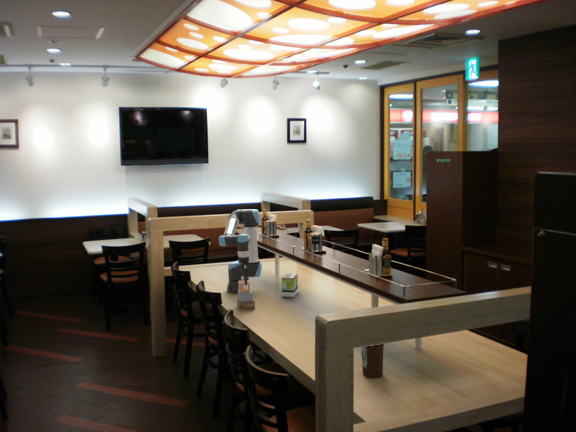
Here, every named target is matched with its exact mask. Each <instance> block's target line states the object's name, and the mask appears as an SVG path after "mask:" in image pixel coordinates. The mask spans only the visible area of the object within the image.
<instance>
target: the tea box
mask: <svg viewBox="0 0 576 432" xmlns="http://www.w3.org/2000/svg"><path fill="white" fill-rule="evenodd" d="M298 275H299V274H298V273H285V274H283V276H282V277H281V297H285V298H286V297H287V298H294V297H295V296H296V295H297V294H298V292H299V276H298Z"/></svg>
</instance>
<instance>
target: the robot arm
mask: <svg viewBox="0 0 576 432" xmlns="http://www.w3.org/2000/svg"><path fill="white" fill-rule="evenodd" d="M239 225H243V227H244V228H245V233H240V234H238V235H235V233H236V230H237V227H238V226H239ZM260 225H261V216H260V211H259V210H258V209H253V208H252V209H251V208H249V209H237V210H234V211H232V212H231V213H230V214H229V215H228V216H227V219H226V225H225V229H224V233H223V235H219V236H218V243H219V244H218V245H219V246H220V247H237V253H236V254H237V257H238V259H237V260H235V261H231V262H229V263H228V266H227V270H228V272H227V274H228V282H227V283H228V284H227V285H226V291H227V292H228V293H233V294H235V293H236V294H238V290H239V282H238V281H242V280H244V290H245V289H248V280H249V278H260V277H261V275H262V269H263V262H261V259H260V258H259V254H258V253H259V252H258V251H259V250H258V229H257V228H259V226H260Z"/></svg>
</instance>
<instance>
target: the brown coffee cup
mask: <svg viewBox="0 0 576 432" xmlns="http://www.w3.org/2000/svg"><path fill="white" fill-rule="evenodd" d="M384 345H385V344H380V345H374V346H367V347H361V346H360V349H361V351H360V352H361V365H362V375H363V376H364V377H365V376H366V378H369V379H378V378H381V377H382V376H383V373H384V372H383V371H384Z"/></svg>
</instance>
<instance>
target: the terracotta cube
mask: <svg viewBox="0 0 576 432" xmlns="http://www.w3.org/2000/svg"><path fill="white" fill-rule="evenodd" d="M238 282H239V292H240V293H246V292H250V290H251V282H250V280H249V279H248V289H245V290H244V280H242V281H238Z"/></svg>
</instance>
